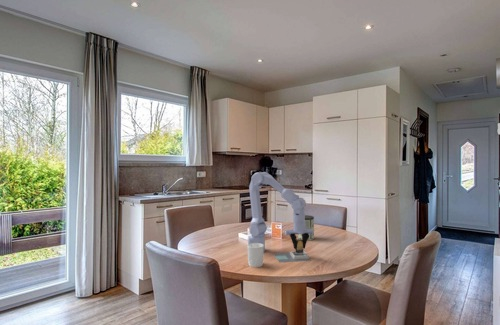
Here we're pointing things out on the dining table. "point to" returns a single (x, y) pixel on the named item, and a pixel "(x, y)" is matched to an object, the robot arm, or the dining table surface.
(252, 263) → the white cup
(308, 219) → the coffee can
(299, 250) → the cell
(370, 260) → the dining table surface
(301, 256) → the gray board
